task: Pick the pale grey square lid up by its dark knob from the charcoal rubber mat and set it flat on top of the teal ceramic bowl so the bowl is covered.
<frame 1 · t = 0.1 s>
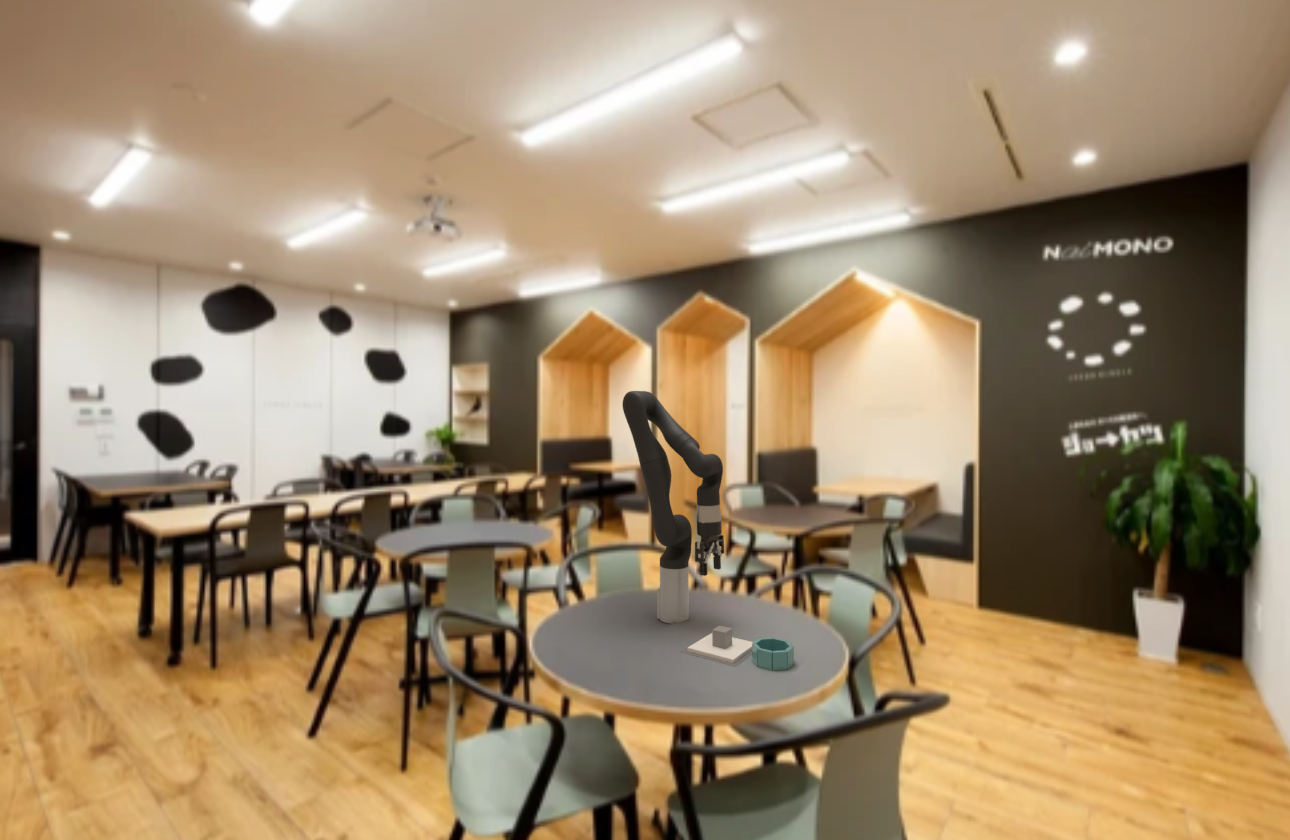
hand: (710, 572, 187), 17 cm above the table, tool pointing down, fingers open, 8 cm apart
bowl: (772, 663, 160), on the table
mat: (722, 650, 169), on the table
lid: (722, 648, 169), resting on mat
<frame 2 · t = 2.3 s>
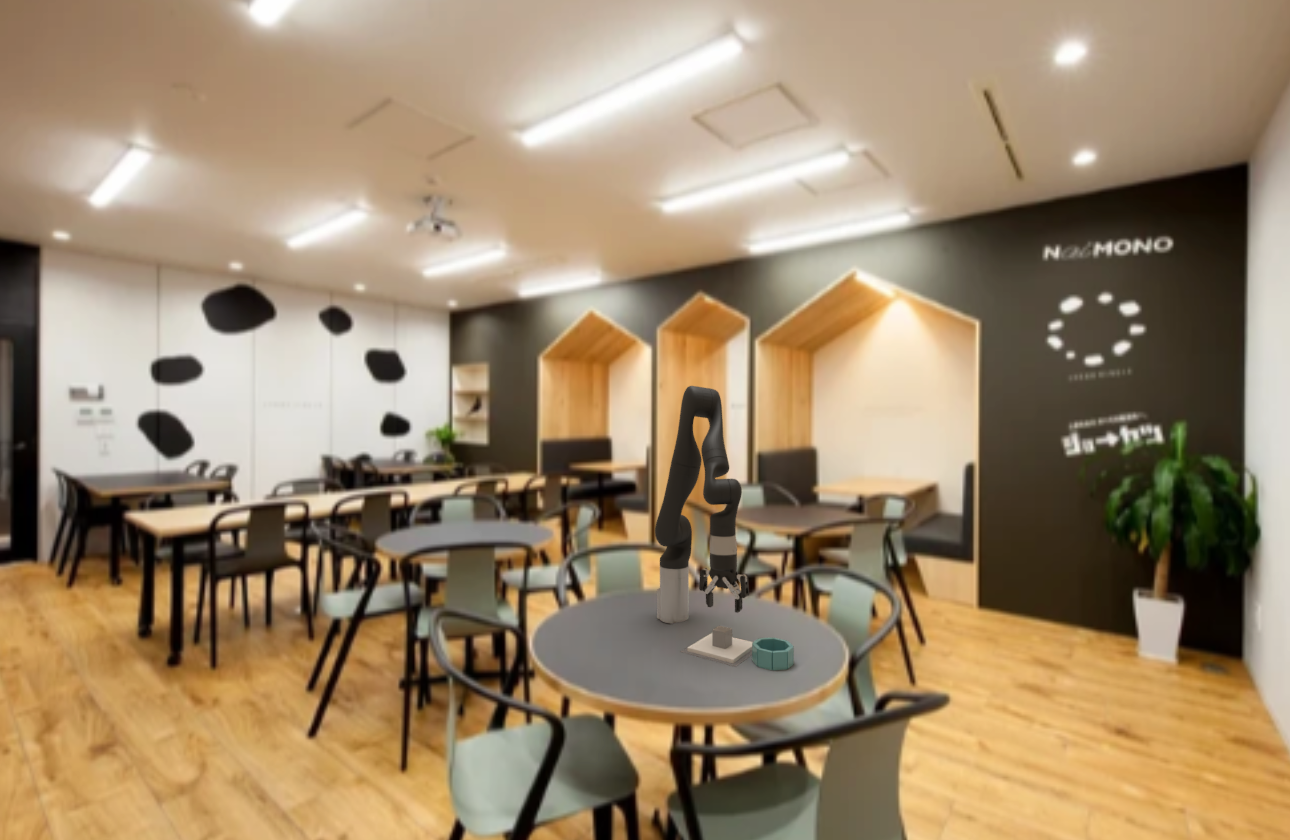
hand: (724, 609, 169), 12 cm above the table, tool pointing down, fingers open, 8 cm apart
nothing on the table moved.
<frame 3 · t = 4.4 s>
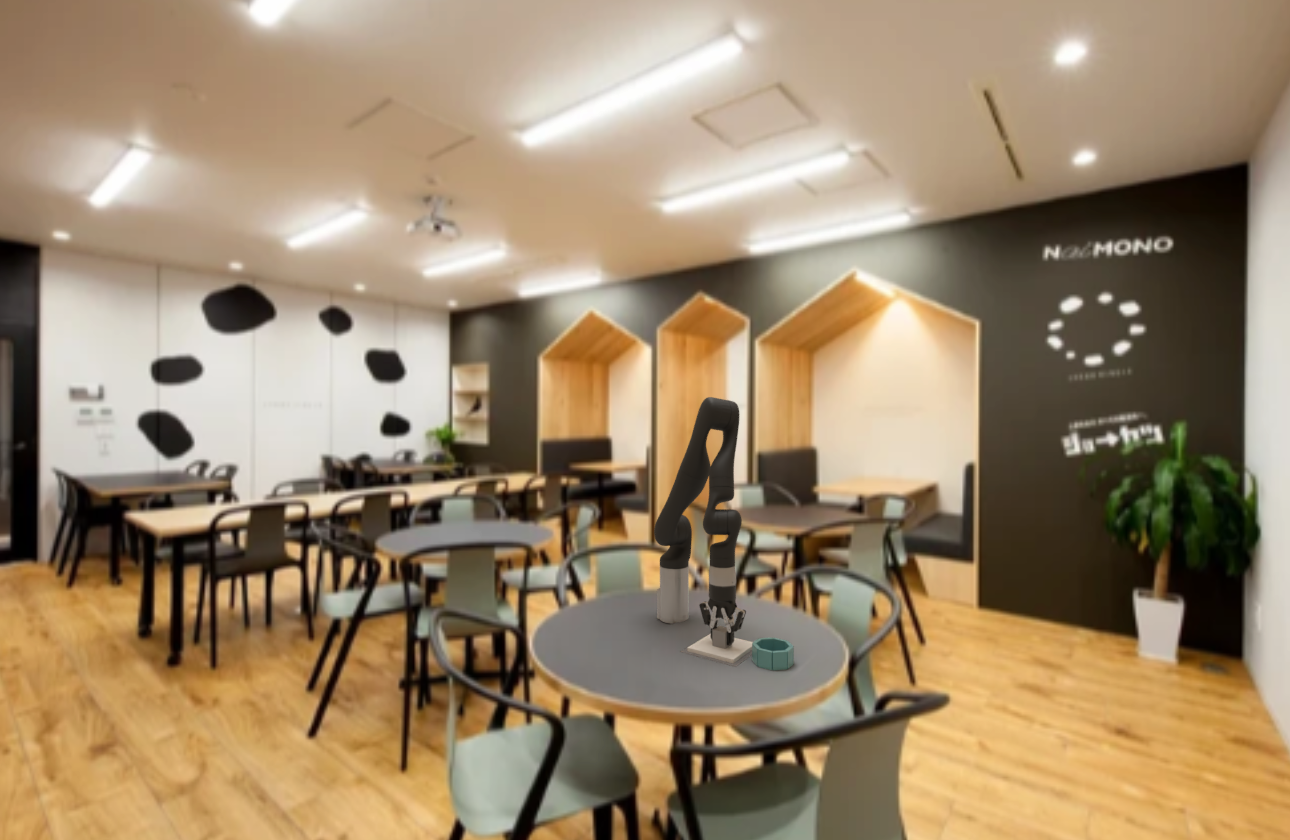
hand: (722, 642, 169), 2 cm above the table, tool pointing down, fingers closed on lid, 4 cm apart
lid: (722, 648, 169), resting on mat, touching gripper
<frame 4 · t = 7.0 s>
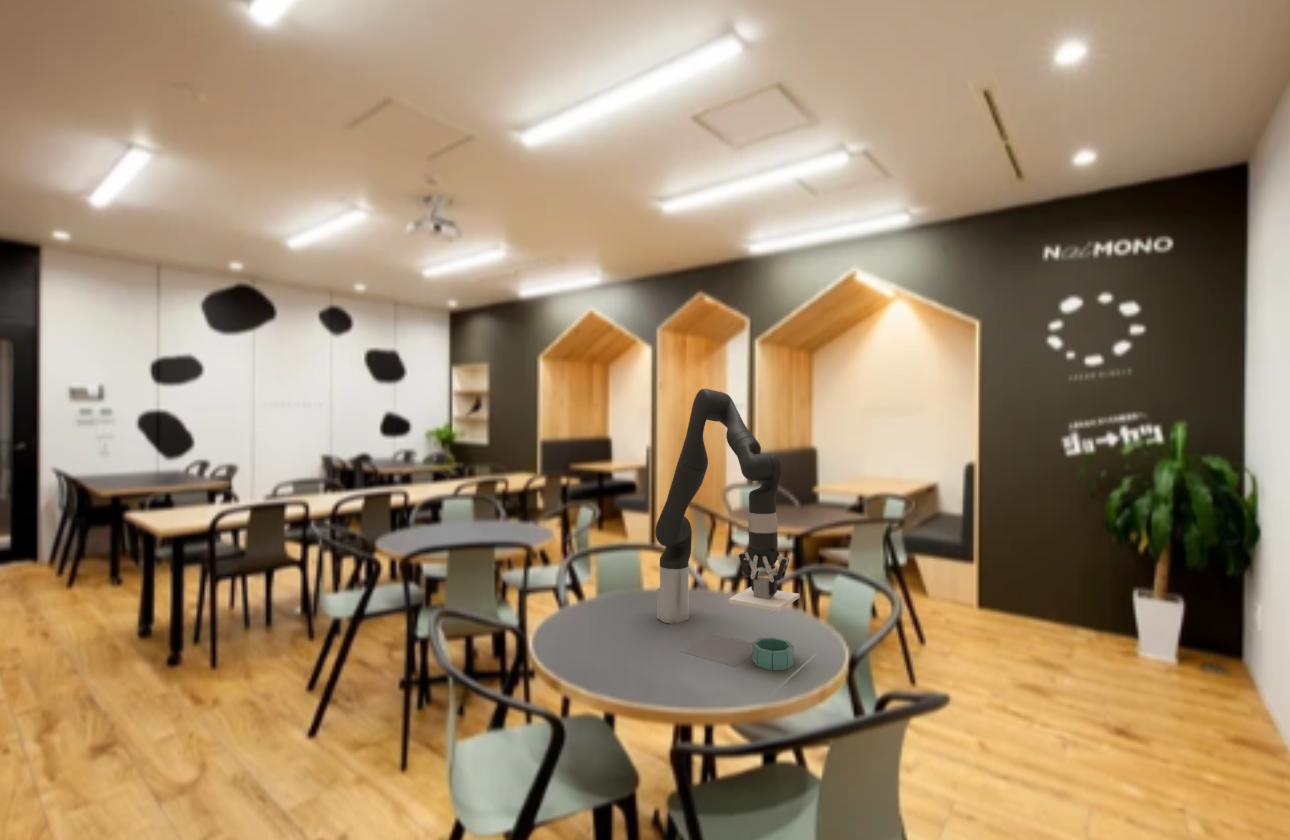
hand: (764, 593, 161), 18 cm above the table, tool pointing down, fingers closed on lid, 4 cm apart
lid: (764, 600, 161), point 16 cm above the table, touching gripper
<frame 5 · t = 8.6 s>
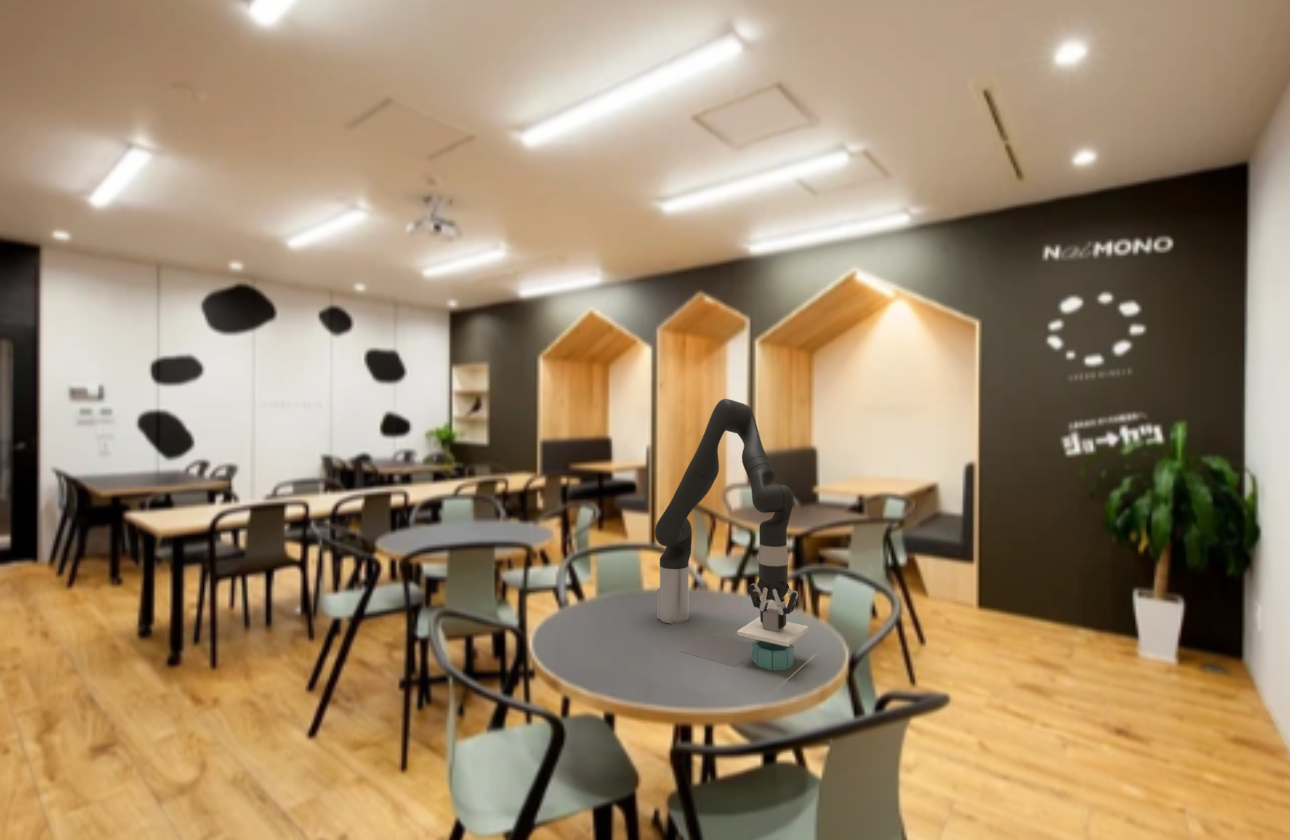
hand: (773, 625, 160), 10 cm above the table, tool pointing down, fingers closed on lid, 4 cm apart
lid: (773, 632, 160), point 8 cm above the table, touching gripper
when the fingers open (8 cm above the table, at t = 9.7 s): lid drops 1 cm, resting on bowl.
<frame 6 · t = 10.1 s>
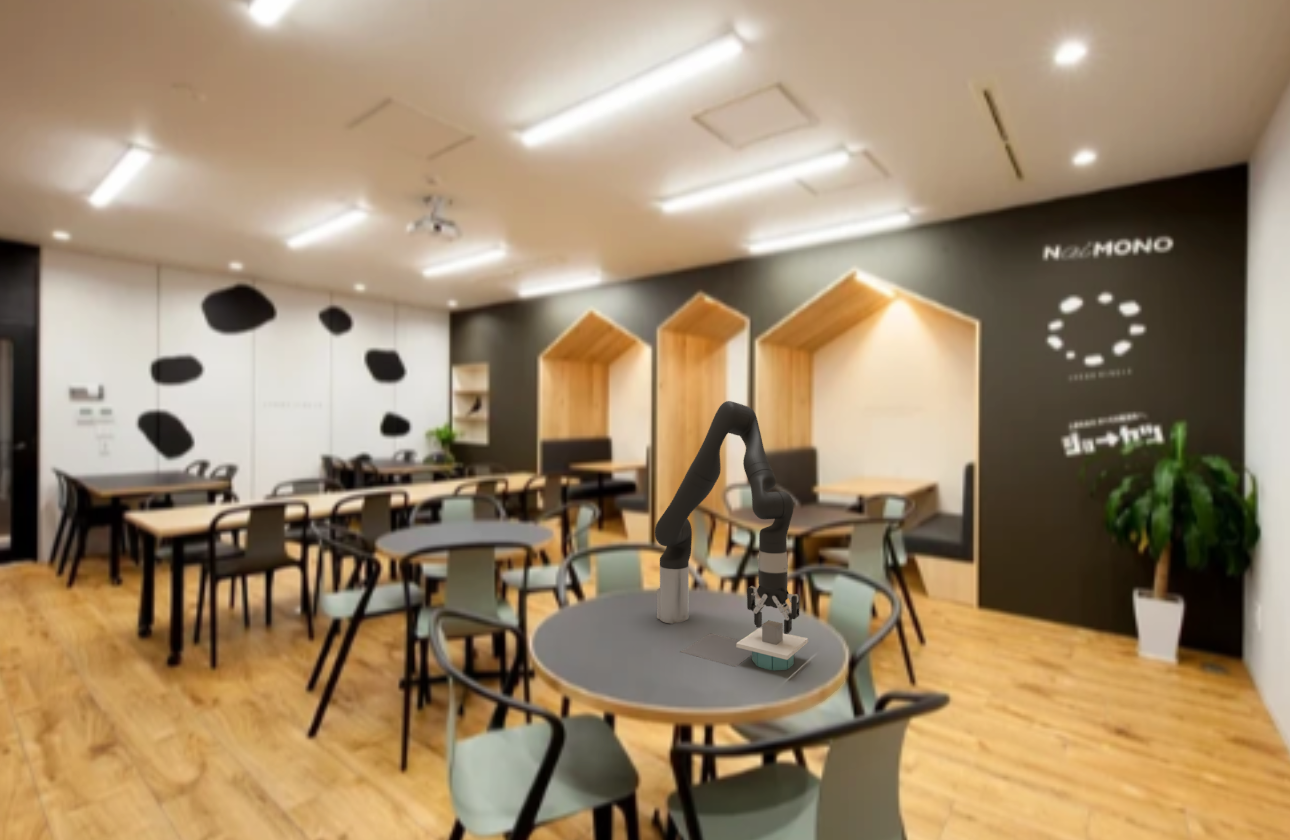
hand: (772, 630, 160), 9 cm above the table, tool pointing down, fingers open, 7 cm apart
lid: (772, 644, 160), point 5 cm above the table, touching bowl
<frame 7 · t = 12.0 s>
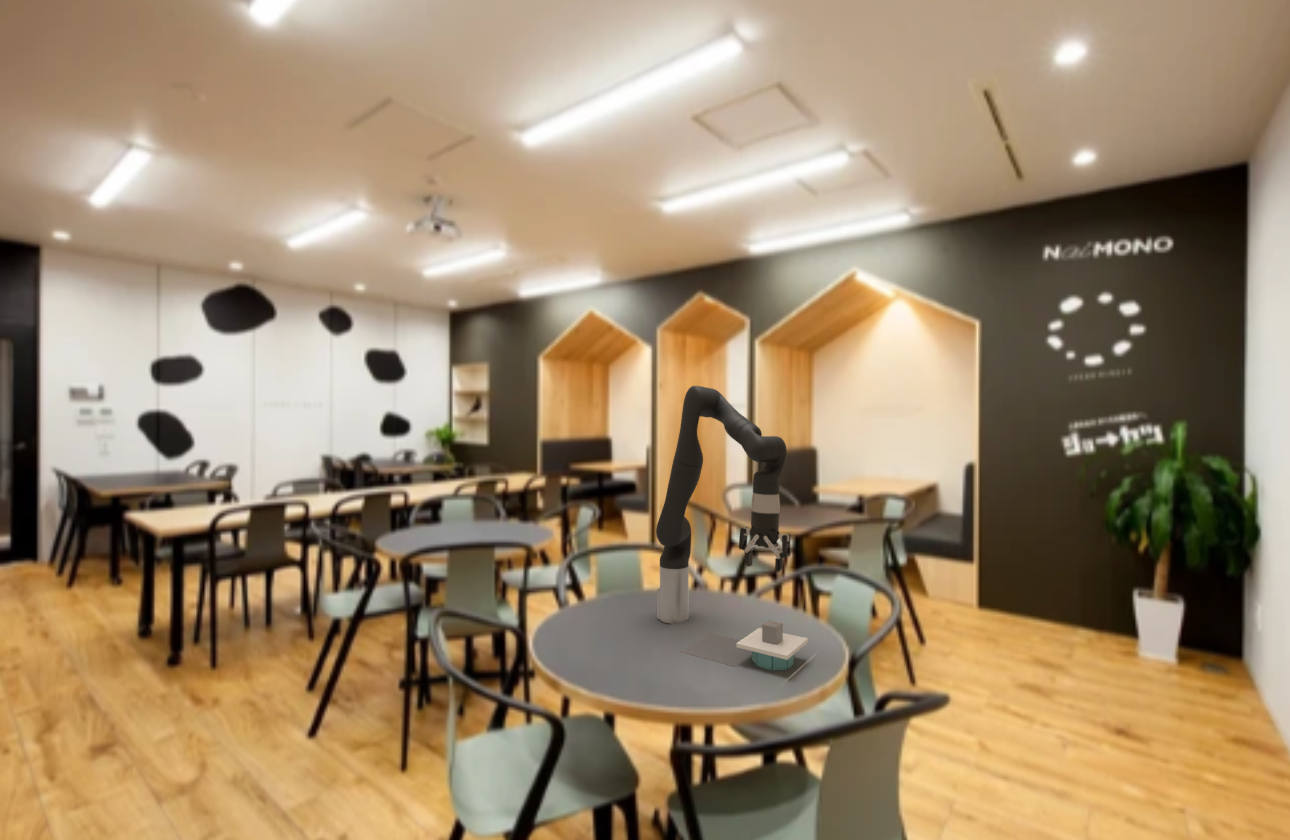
hand: (763, 568, 166), 24 cm above the table, tool pointing down, fingers open, 8 cm apart
nothing on the table moved.
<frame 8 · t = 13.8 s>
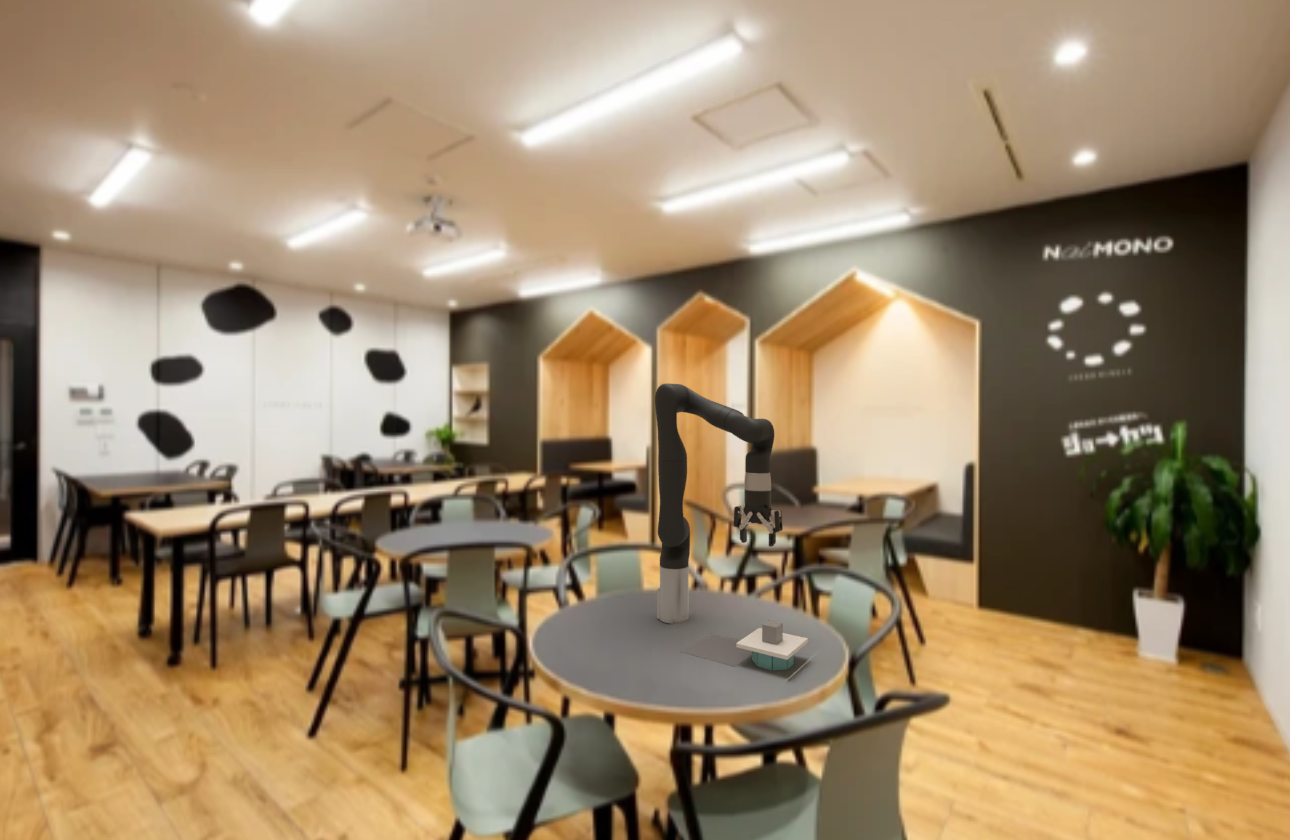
hand: (757, 544, 175), 28 cm above the table, tool pointing down, fingers open, 8 cm apart
nothing on the table moved.
at the end: lid 0.1 cm from the bowl (horizontally); lid point 5.0 cm above the table; lid tilted 0° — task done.
